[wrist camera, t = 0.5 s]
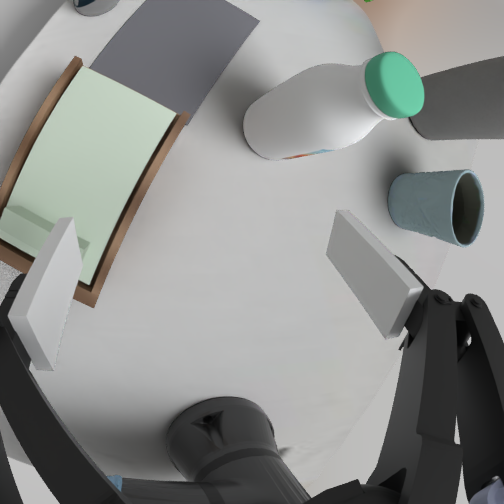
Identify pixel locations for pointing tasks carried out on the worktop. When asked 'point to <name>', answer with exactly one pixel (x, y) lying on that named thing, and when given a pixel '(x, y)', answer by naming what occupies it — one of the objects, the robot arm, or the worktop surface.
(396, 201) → the teal cup
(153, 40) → the mat
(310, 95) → the milk bottle
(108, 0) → the lotion bottle
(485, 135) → the canister
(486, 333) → the robot arm
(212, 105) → the worktop surface
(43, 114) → the walnut box
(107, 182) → the lid
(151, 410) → the worktop surface
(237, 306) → the worktop surface
